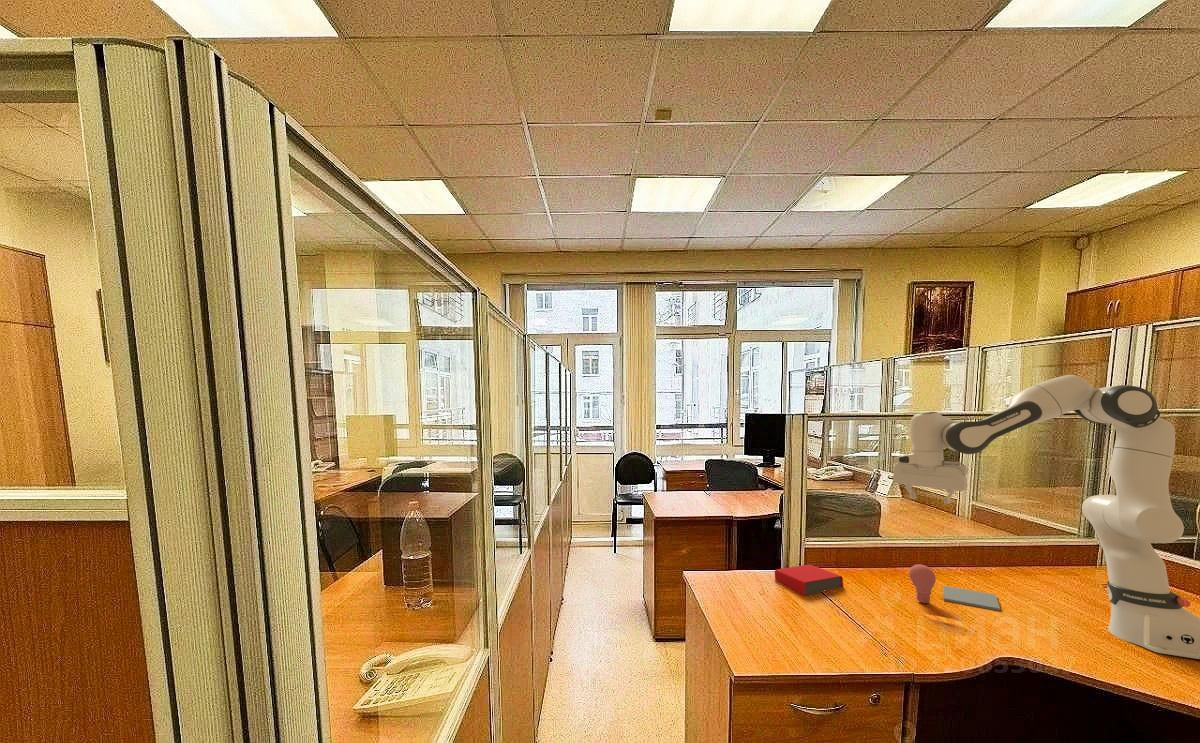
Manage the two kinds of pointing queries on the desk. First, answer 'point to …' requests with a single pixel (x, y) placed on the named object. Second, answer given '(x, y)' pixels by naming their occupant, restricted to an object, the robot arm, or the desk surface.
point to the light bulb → (922, 581)
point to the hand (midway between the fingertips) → (929, 500)
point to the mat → (971, 598)
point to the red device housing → (808, 579)
